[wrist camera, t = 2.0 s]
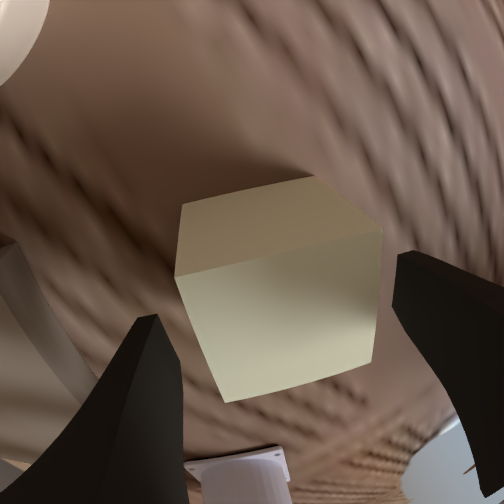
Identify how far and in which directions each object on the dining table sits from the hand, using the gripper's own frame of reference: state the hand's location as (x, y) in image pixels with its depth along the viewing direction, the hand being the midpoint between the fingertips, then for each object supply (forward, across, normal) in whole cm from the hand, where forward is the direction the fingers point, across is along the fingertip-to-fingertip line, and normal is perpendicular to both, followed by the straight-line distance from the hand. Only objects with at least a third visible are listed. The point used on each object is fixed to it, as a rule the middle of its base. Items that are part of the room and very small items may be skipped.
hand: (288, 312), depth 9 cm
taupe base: (+4, +18, +5) cm, 19 cm away
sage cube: (+4, 0, 0) cm, 4 cm away
